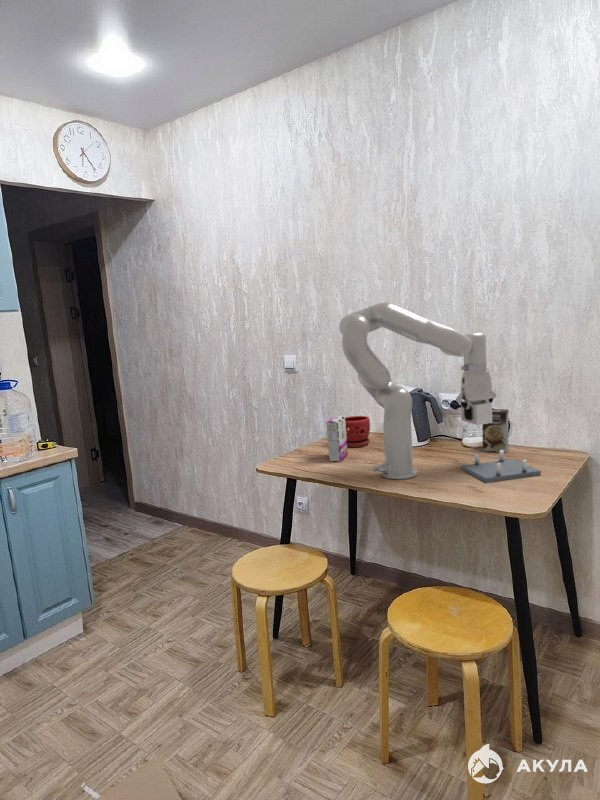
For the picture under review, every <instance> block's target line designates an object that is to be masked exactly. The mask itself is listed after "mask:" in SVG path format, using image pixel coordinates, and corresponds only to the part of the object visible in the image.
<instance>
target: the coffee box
mask: <svg viewBox="0 0 600 800" xmlns="http://www.w3.org/2000/svg"><path fill="white" fill-rule="evenodd" d="M509 412H510V411H509V409H503V408H502V409H501V408H498V409H497V408H496V409H495V408H492V423H488V424H482V451H483V452H488V451H496V452H495V453H499V450H504V452H506V453H507V452H508V451H507V450H509Z"/></svg>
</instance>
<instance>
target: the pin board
mask: <svg viewBox="0 0 600 800" xmlns="http://www.w3.org/2000/svg"><path fill="white" fill-rule="evenodd" d="M496 463H501V476H496ZM461 470H462V471H463V472H465V473H467V474H469V475H470V476H472V477H475V478H477V479H479V480H480V481H482V482H484V483H486V484H487V483H494V482H501V481H508V480H516V479H523V478H529V477H536V476H537V477H538V476H542V475H541V474H542V471H541V469H537V468H535V467H532V465H529V464H527V472H522V461H519V460H517V459H515V458H510V459H504V462H499V460H494V461H487V462H480V465H475V463H471V464H465V465H461Z"/></svg>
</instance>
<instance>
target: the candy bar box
mask: <svg viewBox="0 0 600 800" xmlns="http://www.w3.org/2000/svg"><path fill="white" fill-rule="evenodd" d="M345 418H346V416H345V415H333V417H331V418H330V419H328V420H327V421H326V423H325V424H326V431H327V432H326V433H327V434H326V435H327V444H328V445H327V446H328V447H327V448H328V457H329V459H328V460H329V462H330V461H337V462H336V463H341V462H342V461H343V460H344V459H345V458H346V457H347V456H348V454H349V451H348V446H347V437H346V423H345ZM338 461H339V462H338Z"/></svg>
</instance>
